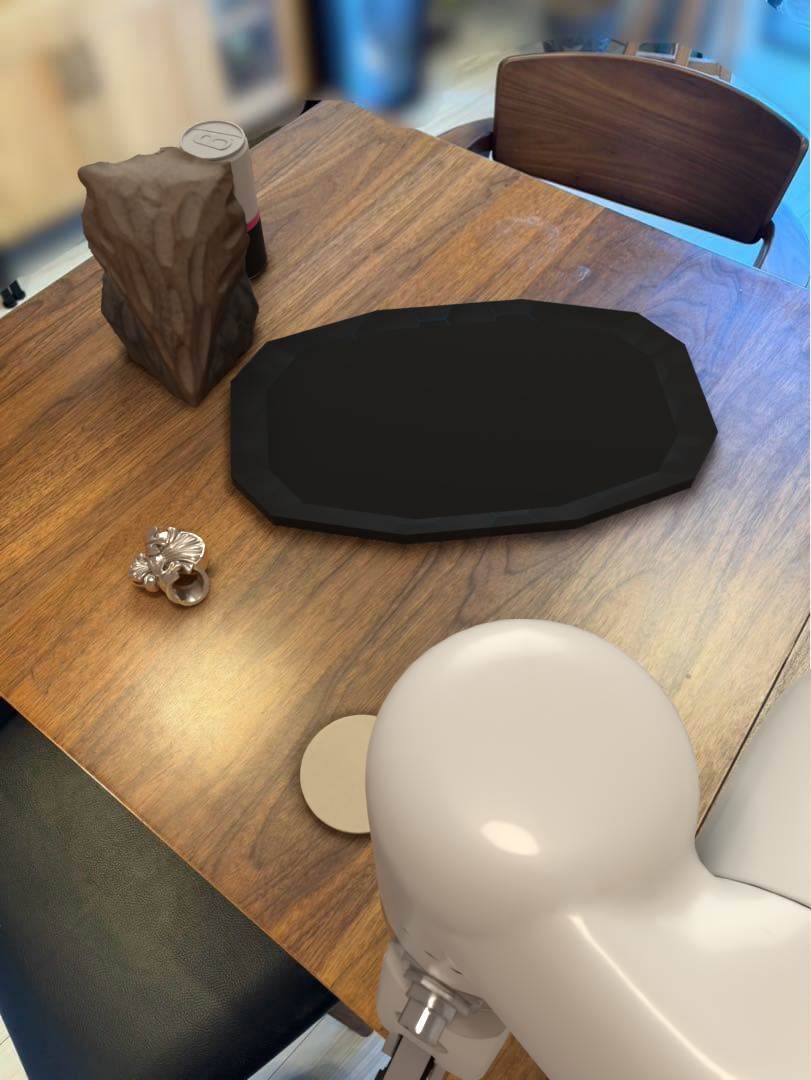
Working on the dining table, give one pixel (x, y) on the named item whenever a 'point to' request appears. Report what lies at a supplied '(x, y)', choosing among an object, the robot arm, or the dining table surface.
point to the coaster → (338, 774)
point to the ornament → (172, 565)
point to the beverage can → (232, 146)
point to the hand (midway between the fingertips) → (466, 957)
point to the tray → (466, 421)
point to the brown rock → (172, 265)
